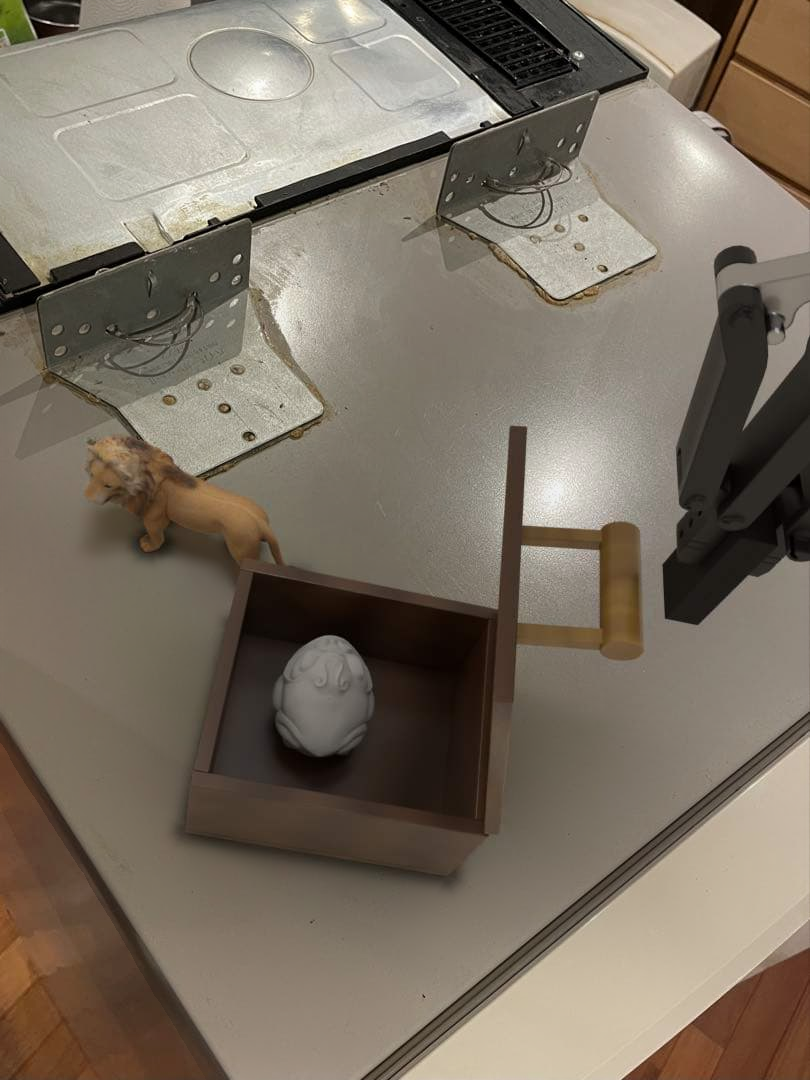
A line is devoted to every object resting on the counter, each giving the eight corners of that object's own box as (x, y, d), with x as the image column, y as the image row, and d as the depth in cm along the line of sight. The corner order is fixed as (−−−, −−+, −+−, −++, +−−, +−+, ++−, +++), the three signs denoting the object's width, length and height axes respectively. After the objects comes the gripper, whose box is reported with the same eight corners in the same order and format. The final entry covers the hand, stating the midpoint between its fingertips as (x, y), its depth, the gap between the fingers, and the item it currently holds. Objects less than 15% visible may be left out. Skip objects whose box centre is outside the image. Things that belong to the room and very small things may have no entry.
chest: (184, 832, 57) (189, 785, 50) (232, 625, 64) (242, 557, 57) (447, 876, 59) (489, 837, 51) (463, 670, 66) (502, 609, 59)
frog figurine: (367, 680, 63) (389, 632, 58) (358, 786, 60) (381, 746, 54) (273, 667, 62) (285, 616, 57) (258, 774, 59) (269, 732, 53)
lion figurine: (76, 551, 65) (66, 472, 57) (104, 487, 68) (98, 404, 60) (294, 609, 66) (312, 539, 58) (312, 543, 69) (332, 469, 61)
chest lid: (492, 701, 37) (656, 713, 37) (509, 424, 45) (646, 432, 44) (483, 834, 51) (603, 845, 51) (498, 605, 59) (602, 613, 58)
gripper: (896, 136, 20) (530, 643, 40) (1444, 285, 22) (831, 702, 41) (844, -51, 24) (536, 492, 44) (1308, 85, 26) (810, 551, 45)
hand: (680, 594), depth 42 cm, fingers closed
